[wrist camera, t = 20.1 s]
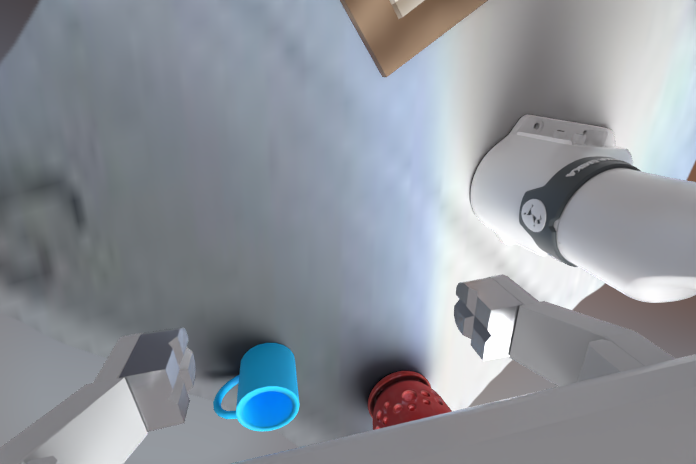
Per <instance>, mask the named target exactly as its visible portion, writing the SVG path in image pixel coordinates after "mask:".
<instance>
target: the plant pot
mask: <svg viewBox="0 0 696 464" xmlns="http://www.w3.org/2000/svg"><path fill="white" fill-rule="evenodd" d="M368 410H369V413H370V415H371V417H372V418H373V430H376V429H380V428H384V427H388V426H393V425H397V424H401V423H405V422H410V421H414V420H418V419H422V418H427V417H431V416H435V415H439V414H444V413H448V412H452V411H451V409H450V408H449V407H448V406H447V405H446V403H445V402H444V401H443V399H442V398H441V397H440V396H439V395H438V394H437V393H436V392H435V391H434V390H433V389H431V386H430V383H429V382H428V380H427V379H426V378H425V377H424V376H422V375H421V374H419V373H417V372H413V371H399V372H395V373H392V374H390V375H388V376H386V377H384V378H383V379H382V380H380V381H379V382H378V383H377V384H376V385H375V387H374V388H373V389H372V391H371V393H370V396H369V399H368Z"/></svg>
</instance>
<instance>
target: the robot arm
mask: <svg viewBox="0 0 696 464" xmlns="http://www.w3.org/2000/svg"><path fill="white" fill-rule="evenodd" d="M535 124H536V126H535V128H534V125H535ZM471 204H472V208H473V211H474V213H475V215H476V217H477V218H478V220H479V221H480V222H481V223H482V224H484V225H485V226H487V227H488V228H490V229H492V230H493V231H494V232H495V234H496V235H497V237H498V239H499V240H500V242H501V243H503V244H505V245H513V244H518V245H520V246H522V247H524V248H526V249H528V250H530V251H532V252H534V253H536V254H538V255H540V256H546V255H550V256H551V257H552V258H554V259H556V260H558V261H560V262H563V263H565V264H567V265H570V266H573V267H579V268H581V269H583V270H584V271H586V272H588V273H590V274H591V275H593V276H595V277H596V278H598V279H600V280H601V281H603V282H605V283H606V284H608V285H610V286H612V287H613V288H615V289H617V290H618V291H620V292H622V293H623V294H625V295H627V296H629V297H631V298H633V299H636V300H639V301H644V302H652V303H659V302H670V301H677V300H681V299H685V298H689V297H691V296H694V295H696V182H692V181H686V180H680V179H675V178H670V177H665V176H660V175H655V174H650V173H646V172H641V171H640V170H639V169H637V168H636V167H634V166H633V160H632V156H631V153H630V152H629V151H628V150H627V149H624V148H620V147H616V143H615V136H614V133H613V131H612V130H611V129H608V128H604V127H599V126H593V125H587V124H581V123H576V122H570V121H564V120H558V119H552V118H546V117H541V116H535V115H524V116H523V117H521V118H520V120H519V121H518V122H517V123H516V125H515V126H514V128H513V129H512V131H511V132H510V134H509V135H508V136H507V137H505V138H504V139H503V140H502V141H500V142H499V143H498V144H496V145H495V146H494V147H493V148H492V149H491V150H490V151H489V152H488V153H487V154H486V156H485V157H484V158H483V160H482V161H481V163H480V164H479V166H478V168H477V170H476V172H475V175H474V178H473V181H472V185H471ZM456 295H457V296H458V298H459V301H458V302H457V303H456V305H455V306H454V317H455V322H456V325H457V327H458V329H459V330H460V332H461V333H462V334H463V335H464V336H466V337H468V338H470V339H471V346H472V347H473V349H474V350H475V351H476V352H477V354H478V355H479V356H480V357H481V359H482V360H483V361H484V360H489V359H495V358H501V357H506V356H509V358H511V359H513V360H515V361H516V362H518V363H520V364H521V365H523V366H525V367H526V368H528V369H530V370H531V371H533V372H535V373H536V374H538V375H540V376H542V377H543V378H545V379H547V380H548V381H550V382H552V383H553V384H555V385H557V386H558V387H555V388H551V389H546V390H542V391H538V392H534V393H529V394H525V395H521V396H517V397H512V398H508V399H504V400H500V401H495V402H491V403H487V404H482V405H478V406H474V407H470V408H465V409H461V410H457V411H452V412H448V413H444V414H439V415H435V416H431V417H427V418H422V419H418V420H414V421H410V422H405V423H401V424H397V425H393V426H388V427H384V428H380V429H376V430H371V431H367V432H363V433H359V434H354V435H350V436H346V437H342V438H337V439H333V440H329V441H325V442H320V443H316V444H312V445H308V446H303V447H299V448H295V449H291V450H287V451H282V452H278V453H274V454H269V455H266V456H261V457H257V458H252V459H248V460H244V461H240V462H235V463H231V464H696V354H695V355H691V356H686V357H683V358H678V359H676V358H674V357H673V356H671V355H669V354H668V353H667V352H665V351H664V350H662V349H661V348H659V347H658V346H656V345H655V344H653V343H652V342H650V341H649V340H647V339H646V338H644V337H643V336H642V335H640V334H638V333H637V332H636V331H633V330H630V329H627V328H623V327H621V326H618V325H615V324H611V323H608V322H605V321H602V320H599V319H596V318H593V317H590V316H587V315H584V314H581V313H578V312H575V311H572V310H569V309H566V308H563V307H560V306H557V305H554V304H551V303H548V302H545V301H543V302H539V301H538V300H536V299H535V298H534V297H533V296H531V295H530V294H529V293H528V292H526V291H525V290H524V289H523V288H521V287H520V286H519V285H518V284H516V283H515V282H514V281H513V280H511V279H510V278H509V277H508V276H505V275H497V276H492V277H488V278H484V279H478V280H472V281H466V282H460V283H458V285H457V288H456ZM188 340H189V338H188V335H187V332H186V329H184V328H183V327H180V328H173V329H166V330H159V331H152V332H145V333H139V334H132V335H126V336H123V337H121V338H119V340H118V341H117V343H116V345H115V346H114V348H113V350H112V351H111V353H110V355H109V356H108V358H107V360H106V362H105V363H104V365H103V367H102V369H101V370H100V372H99V374H98V375H97V377H96V379H95V381H94V382H93V383H91V384H86V385H85V386H83V387H82V388H80V389H79V390H78V391H76V392H75V393H74V394H72V395H71V396H70V397H68V398H67V399H66V400H64V401H63V402H61V403H60V404H59V405H57V406H56V407H55V408H54V409H52V410H51V411H49V412H48V413H46V414H45V415H44V416H42V417H41V418H40V419H38V420H37V421H36V422H35V423H33V424H32V425H30V426H29V427H27V428H26V429H25V430H23V431H22V432H21V433H19V434H18V435H17V436H15V437H14V438H12V439H11V440H10V441H9V442H7V443H6V444H4V445H3V446H2V447H0V464H123V463H124V462H125V461H126V460H127V458H128V457H129V456H130V455H131V454H132V452H133V451H134V450H135V449H136V447H137V446H138V445H139V444H140V443H141V441H142V440H143V439H144V438H145V437H146V435H147V434H148V433H147V432H149V431H154V430H157V429H162V428H166V427H170V426H175V425H179V424H183V423H184V421H185V418H186V414H187V410H188V406H189V402H190V400H189V397H188V394H187V393H188V392H189V391H190V390H191V389H192V388H193V385H194V381H195V368H196V367H195V359H194V355H193V352H192V351H191V350H189V349H188V348H186V347H187V343H188Z"/></svg>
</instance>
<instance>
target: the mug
mask: <svg viewBox="0 0 696 464" xmlns="http://www.w3.org/2000/svg"><path fill="white" fill-rule="evenodd" d="M238 383H239V385H238V396H237V407H236V411H226V410H223V409H222V408H221V402H222V399H223V397H224V396H225V394H226V393H227V392H228V391H229V390H230V389H231V388H232V387H233V386H235V385H236V384H238ZM213 404H214V411H215V412H216V413H217V414H218V416H220V417H222V418H225V419H236V418H237V419H238V421H239V422H240V423H241V424H242V425H243V426H244V427H246V428H248V429H250V430H255V431H271V430H275V429H278V428H281V427H283V426H284V425H286V424H288V423H289V422H290V421H291V420H293V419H294V417H295V416H296V414H297V413H298V410H299V395H298V386H297V376H296V366H295V359H294V354H293V353H292V352H291V350H290V349H289V348H287V347H286V346H284V345H281V344H278V343H264V344H259V345H257V346H255V347H253V348H251V349H250V350H249V351H247V352H246V353H245V354H244V356H243V358H242V360H241V365H240V375H237V376H236V377H234V378H233V379H231V380H230V381H228V382H227V383H226V384H225V385H224V386H223V387H222V388H221V389H220V390H219V392H218V393H217V394H216V397H215V399H214V402H213Z"/></svg>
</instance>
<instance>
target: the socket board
mask: <svg viewBox="0 0 696 464" xmlns="http://www.w3.org/2000/svg"><path fill="white" fill-rule="evenodd" d="M340 1H341V3H342V5H343V7H344V9H345V10H346V12H347V14H348V16H349V18H350V19H351V21H352V23H353V25H354V27H355V28H356V30H357V32H358V34H359V36H360V37H361V39H362V41H363V43H364V45H365V46H366V48H367V50H368V52H369V54H370V55H371V57H372V59H373V61H374V62H375V64H376V66H377V68H378V70H379V71H380V73H381V75H382V77H387V76H389V75H390V74H391V73H393V72H394V71H395V70H397V69H398V68H399V67H401V66H402V65H403V64H405V63H406V62H407V61H409V60H410V59H411V58H413V57H414V56H415V55H416V54H418V53H419V52H420V51H422V50H423V49H424V48H426V47H427V46H428V45H430V44H431V43H432V42H434V41H435V40H436V39H438V38H439V37H440V36H442V35H443V34H444V33H445V32H447V31H448V30H449V29H451V28H452V27H453V26H455V25H456V24H457V23H459V22H460V21H461V20H463V19H464V18H465V17H467V16H468V15H469V14H471V13H472V12H473V11H474V10H476V9H477V8H478V7H480V6H481V5H482V4H484V3H485V2H486V1H488V0H340Z"/></svg>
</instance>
